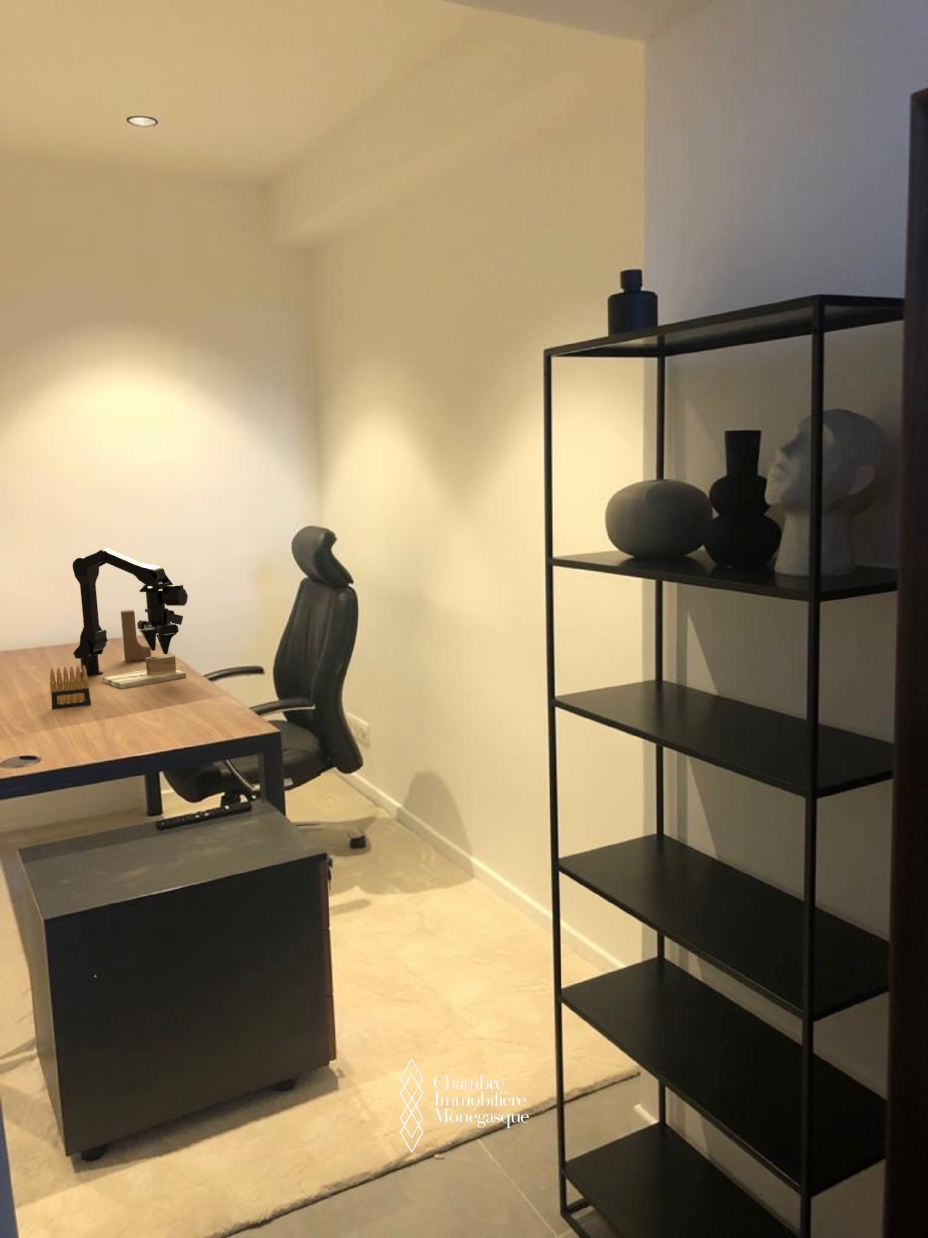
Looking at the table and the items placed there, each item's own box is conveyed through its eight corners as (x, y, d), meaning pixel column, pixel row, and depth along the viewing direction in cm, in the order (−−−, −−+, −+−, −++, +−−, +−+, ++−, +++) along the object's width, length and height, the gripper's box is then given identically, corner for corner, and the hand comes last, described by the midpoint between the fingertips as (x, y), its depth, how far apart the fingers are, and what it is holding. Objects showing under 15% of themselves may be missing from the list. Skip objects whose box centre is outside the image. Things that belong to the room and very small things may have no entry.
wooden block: (150, 657, 370) (146, 608, 367) (151, 659, 366) (147, 610, 363) (124, 659, 367) (120, 610, 364) (125, 662, 363) (121, 612, 360)
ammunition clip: (90, 703, 300) (87, 664, 298) (91, 705, 299) (87, 665, 297) (52, 708, 296) (48, 668, 294) (52, 709, 295) (48, 669, 293)
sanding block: (146, 672, 335) (145, 657, 334) (169, 669, 340) (168, 654, 339) (153, 674, 331) (152, 659, 330) (176, 671, 336) (175, 656, 336)
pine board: (102, 681, 330) (102, 677, 330) (166, 670, 345) (165, 666, 344) (121, 688, 319) (120, 683, 319) (186, 677, 334) (185, 672, 333)
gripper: (191, 605, 330) (195, 652, 333) (166, 600, 344) (170, 645, 347) (159, 609, 323) (163, 657, 326) (134, 604, 337) (138, 650, 340)
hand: (159, 652), depth 335 cm, fingers open, 9 cm apart
